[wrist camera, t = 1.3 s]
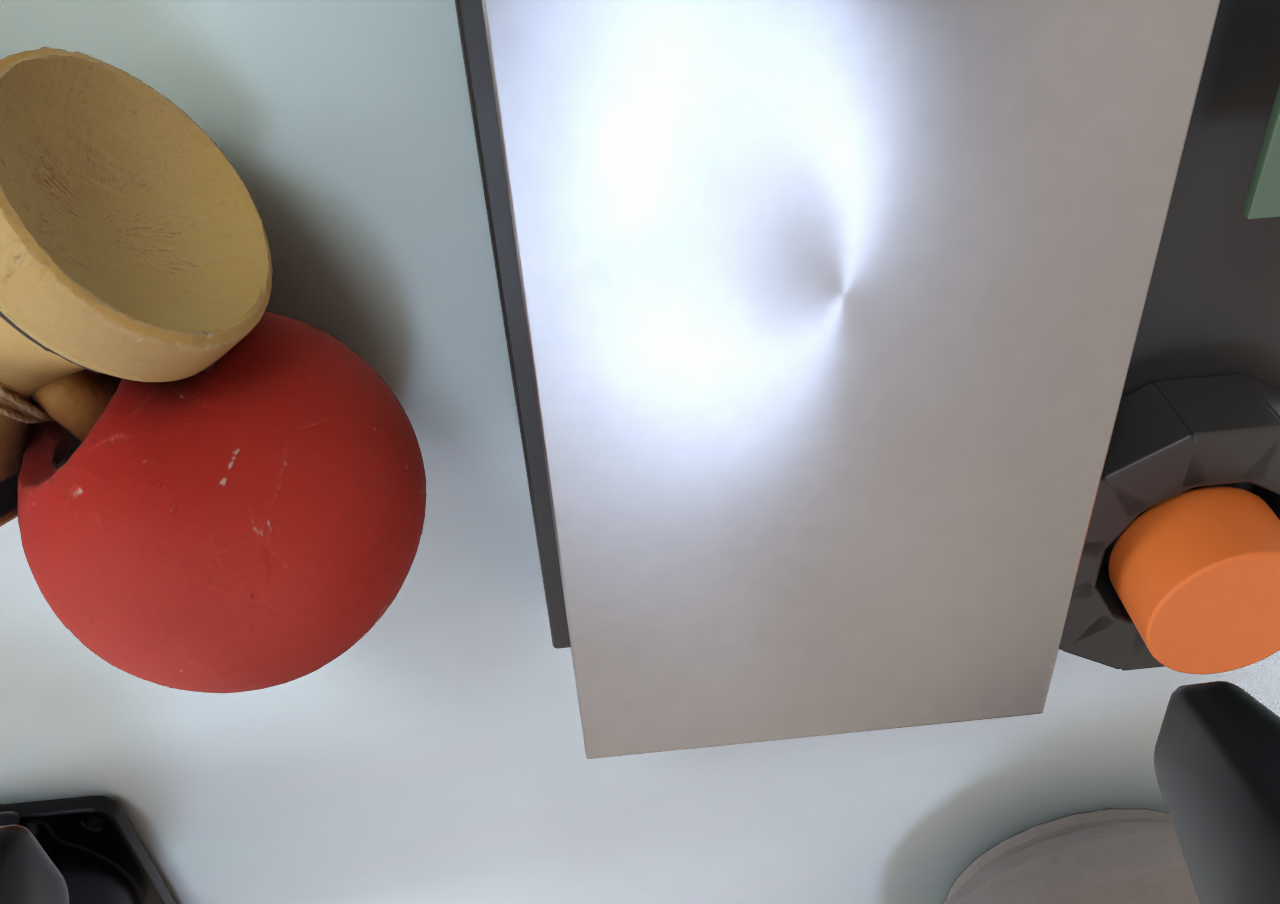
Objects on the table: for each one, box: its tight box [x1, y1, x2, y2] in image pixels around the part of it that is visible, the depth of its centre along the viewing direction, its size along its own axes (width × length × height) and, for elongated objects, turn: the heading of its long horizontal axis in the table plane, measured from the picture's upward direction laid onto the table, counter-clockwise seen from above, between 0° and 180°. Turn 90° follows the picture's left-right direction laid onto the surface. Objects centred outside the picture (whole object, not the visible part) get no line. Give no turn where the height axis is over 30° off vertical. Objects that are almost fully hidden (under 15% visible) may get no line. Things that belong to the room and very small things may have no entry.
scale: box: [455, 0, 1280, 670], centre depth 18 cm, size 18×15×3 cm
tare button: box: [1109, 486, 1280, 674], centre depth 21 cm, size 3×3×2 cm
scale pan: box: [482, 0, 1220, 759], centre depth 17 cm, size 20×9×1 cm, turn 3°
